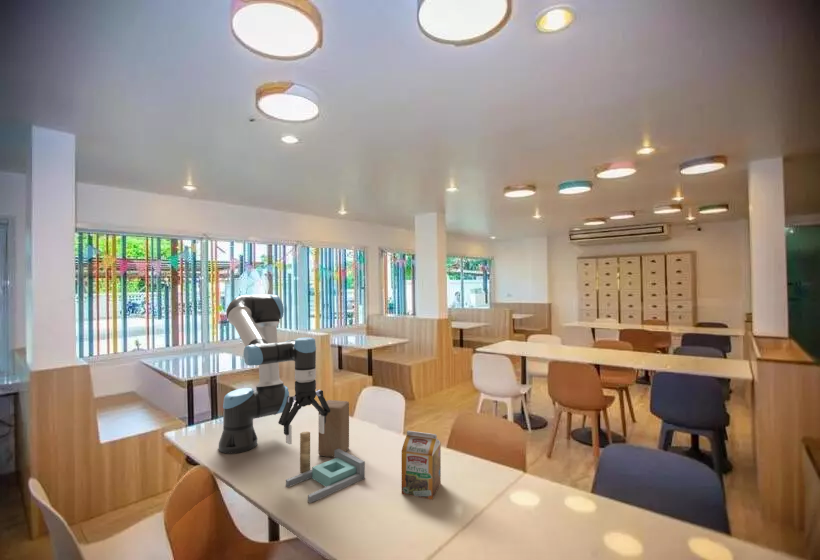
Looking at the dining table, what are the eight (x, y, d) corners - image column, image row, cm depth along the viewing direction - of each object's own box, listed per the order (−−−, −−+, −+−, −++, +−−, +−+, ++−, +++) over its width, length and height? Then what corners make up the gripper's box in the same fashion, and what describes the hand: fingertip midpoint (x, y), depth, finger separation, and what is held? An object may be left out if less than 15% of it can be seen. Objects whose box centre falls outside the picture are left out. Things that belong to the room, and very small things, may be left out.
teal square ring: (312, 478, 141) (312, 467, 141) (337, 467, 148) (337, 457, 148) (330, 489, 133) (330, 477, 133) (356, 478, 141) (356, 466, 141)
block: (341, 458, 156) (341, 408, 156) (317, 456, 158) (317, 406, 158) (349, 448, 166) (349, 400, 166) (327, 446, 168) (327, 399, 168)
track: (285, 485, 136) (285, 467, 136) (338, 464, 151) (338, 448, 151) (310, 503, 125) (310, 484, 125) (364, 478, 141) (364, 461, 141)
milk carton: (440, 483, 137) (440, 428, 137) (432, 499, 127) (432, 440, 127) (411, 478, 140) (411, 425, 141) (401, 493, 130) (401, 436, 131)
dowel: (298, 471, 146) (298, 433, 146) (306, 468, 148) (306, 430, 148) (303, 474, 143) (303, 436, 143) (312, 471, 146) (312, 433, 146)
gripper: (278, 388, 134) (278, 451, 134) (339, 375, 152) (339, 431, 152) (268, 384, 140) (268, 445, 139) (328, 373, 157) (328, 426, 157)
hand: (305, 438), depth 146 cm, fingers open, 13 cm apart
